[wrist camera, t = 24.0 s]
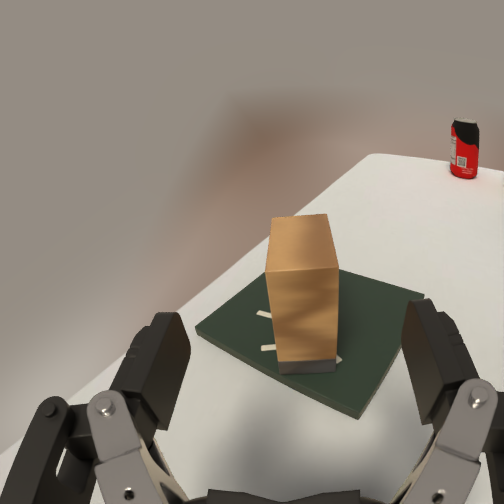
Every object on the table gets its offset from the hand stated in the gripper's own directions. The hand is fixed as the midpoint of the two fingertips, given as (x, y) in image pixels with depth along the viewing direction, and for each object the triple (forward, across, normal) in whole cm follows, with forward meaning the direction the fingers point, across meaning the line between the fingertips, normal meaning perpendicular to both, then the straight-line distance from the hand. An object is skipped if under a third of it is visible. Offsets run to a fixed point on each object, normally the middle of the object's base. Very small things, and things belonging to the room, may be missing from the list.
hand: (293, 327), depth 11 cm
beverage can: (+52, -37, +12) cm, 64 cm away
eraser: (+10, 0, +11) cm, 15 cm away
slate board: (+13, -1, +12) cm, 18 cm away
